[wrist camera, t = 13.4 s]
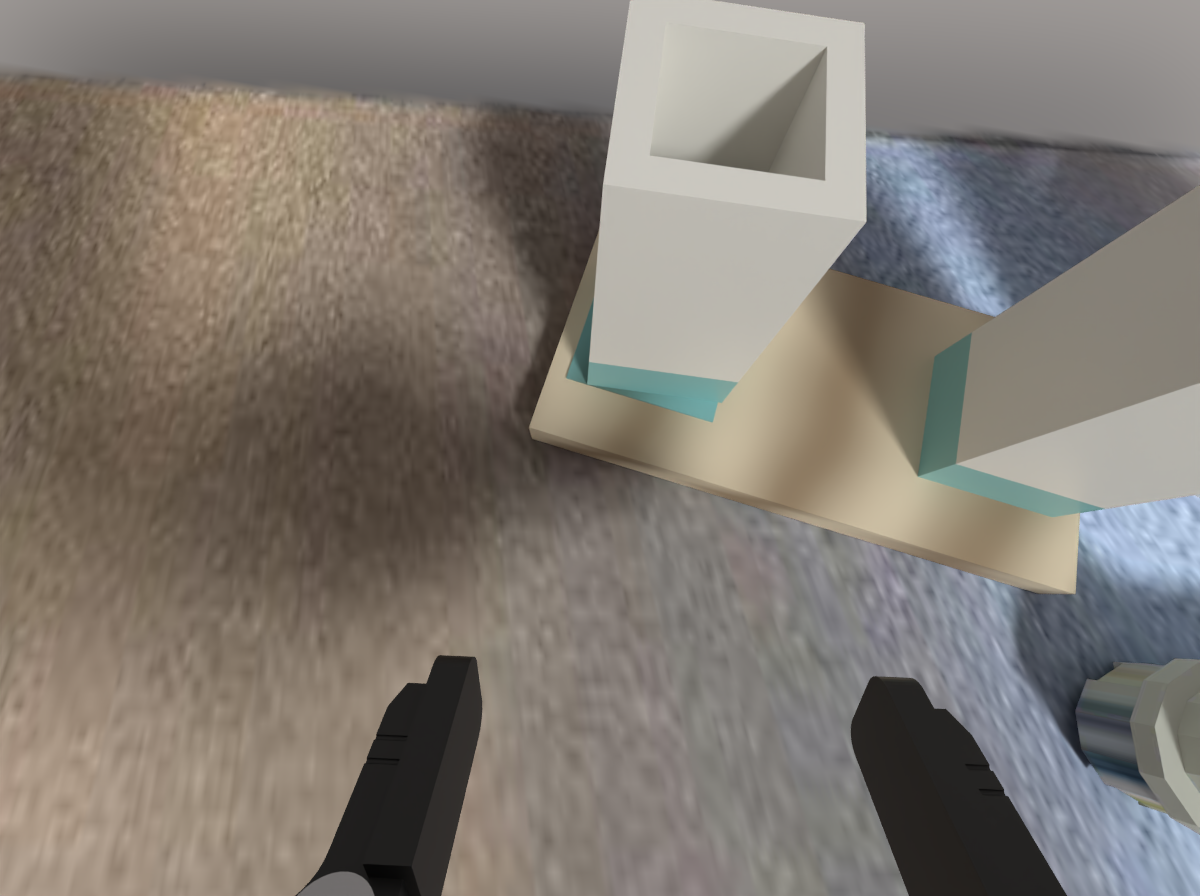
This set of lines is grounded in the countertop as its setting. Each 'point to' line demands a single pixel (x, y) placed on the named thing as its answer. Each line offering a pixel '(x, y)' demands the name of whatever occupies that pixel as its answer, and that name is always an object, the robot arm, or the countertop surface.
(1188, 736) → the electric toothbrush
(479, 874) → the countertop surface
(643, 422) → the pin board
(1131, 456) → the seated sleeve
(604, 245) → the sleeve
